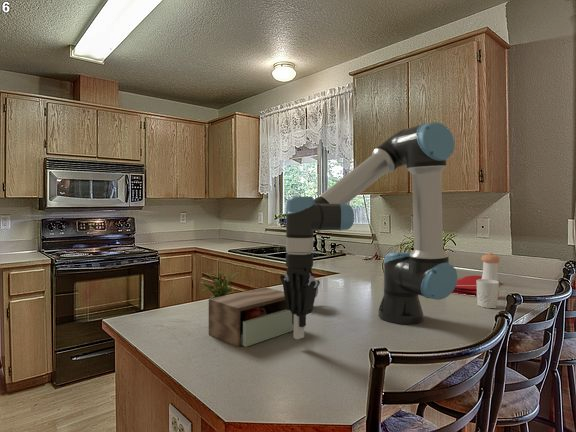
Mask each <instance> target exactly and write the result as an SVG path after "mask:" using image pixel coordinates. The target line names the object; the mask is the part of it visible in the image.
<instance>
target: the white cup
mask: <svg viewBox="0 0 576 432" xmlns="http://www.w3.org/2000/svg"><path fill="white" fill-rule="evenodd" d="M476 283H477V297H476V300H477V301H476V302H477V306H478V305H479V306H481V307H480V308H482V307H486V308H485V309H489V308H494V309H496V308H497V306H498V300H499V299H498V290H499V291H500V281H499V282H498V281H495V280H488V279H478V280H476ZM479 306H478V307H479Z"/></svg>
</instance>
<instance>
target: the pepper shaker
mask: <svg viewBox="0 0 576 432" xmlns="http://www.w3.org/2000/svg"><path fill="white" fill-rule="evenodd" d="M480 258H481V261H482V262H483V264H482V265H483V266H482V275H481V276H482V279H488V280H495V281H498V280H499V276H498V274H499V273H498V265H499V263H500V262H501V260H500V259H501V258H500V257H499V256H498V255H495V254H493V252H489V253H487V254H484V255H482V256H481V257H480ZM498 282H499V283H500V280H499V281H498ZM498 297H499V298H500V289H499V290H498Z"/></svg>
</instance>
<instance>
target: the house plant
mask: <svg viewBox="0 0 576 432" xmlns="http://www.w3.org/2000/svg"><path fill="white" fill-rule="evenodd" d="M210 273H212V274H213V272H212V271H210ZM232 273H233V271H232V272H229V273H227V274H224V276H223V272H222V270H220V271H219V274H218V275H219V276H218V277H217V276H216V275H215V274H213V275H211V274H208V273H203V274H204V275H206V276H207V277H206V279H207V280H209V279H208V278H211V280H212V284H213V285H212V284H210V283H207V282H203V281H199V283H200V284H202V285H203V286H205V287H206V288H205V287H204V288H203V289H202V291H204V290H209V291H211V293H212V294H213V295H214V296H213V295H212V296H211V297H210V298H209V299H211V298H216V297H221V296H226V295H228V293H229V292H232V291H234V290H235V289H234V288H235V286H233V285H230V284H231V281H233V280H234V279H235V277H234V276H235V275H236V274H238V273H239V271H238V272H237V271H236V272H234V273H233V274H232ZM230 274H231V275H230ZM228 275H230V276H229V278H228V279H227V277H228ZM202 277H204V278H205V276H202Z"/></svg>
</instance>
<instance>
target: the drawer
mask: <svg viewBox="0 0 576 432" xmlns="http://www.w3.org/2000/svg"><path fill="white" fill-rule="evenodd" d="M266 313H267V315H265V316H261V317H257V318H254V319H250V320H247V321H245V320H244V316H243V317H240V346H243V347H245V348H247V347H249V346H252V345H255V344H258V343H261V342H264V341H266V340H269V339H274V338H276V337H278V336H281V335H285V334H288V333H289V332H292V331H293V332H294V325H293V324H292V313H291V311H290V310H287V309H286V310H282V311H279V312H275V313H271V312H268V311H266Z"/></svg>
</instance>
